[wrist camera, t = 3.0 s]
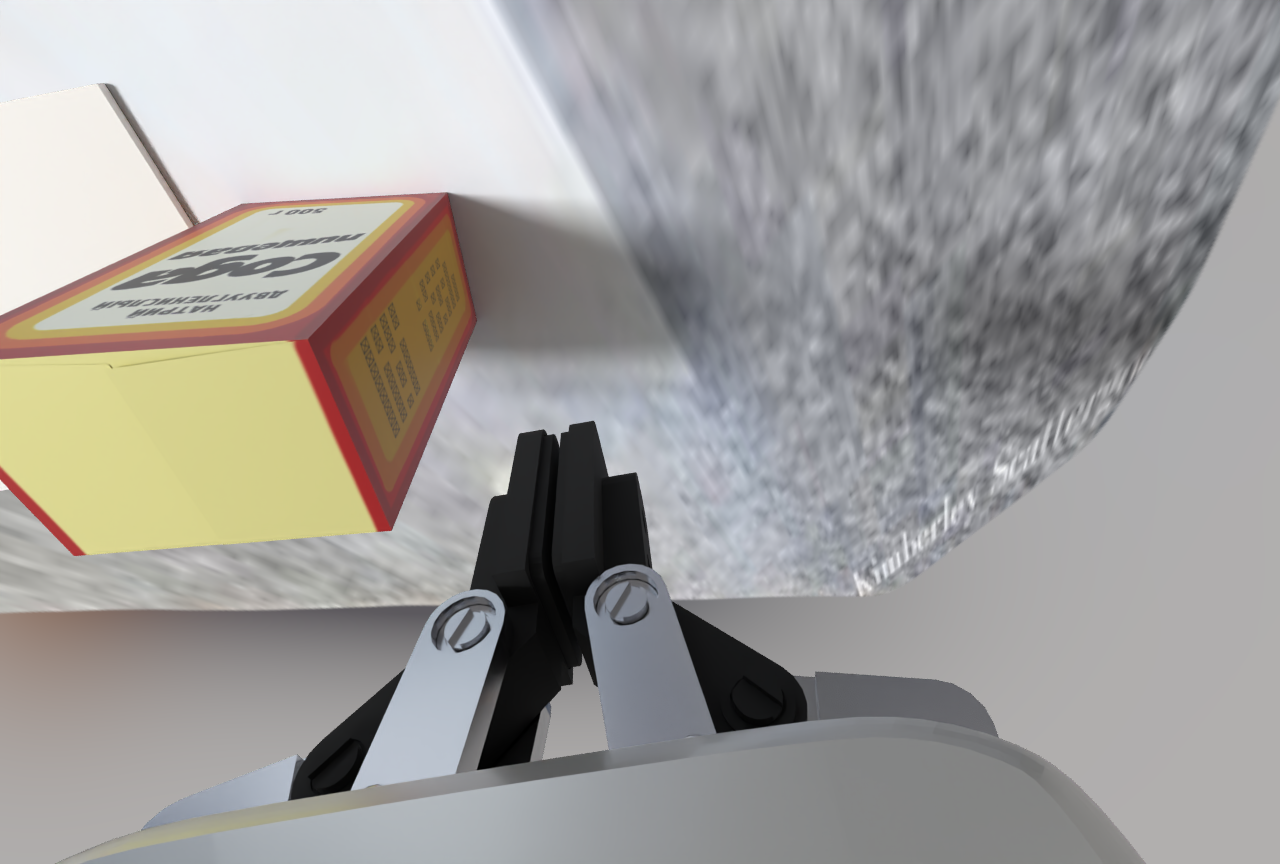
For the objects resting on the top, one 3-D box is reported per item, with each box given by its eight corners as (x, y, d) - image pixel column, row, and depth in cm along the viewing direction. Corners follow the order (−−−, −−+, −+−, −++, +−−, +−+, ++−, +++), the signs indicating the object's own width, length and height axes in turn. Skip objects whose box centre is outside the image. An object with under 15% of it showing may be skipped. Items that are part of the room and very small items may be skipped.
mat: (103, 83, 22) (96, 83, 22) (323, 431, 33) (320, 435, 32) (-395, 180, 23) (-409, 182, 22) (-22, 491, 33) (-28, 495, 33)
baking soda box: (299, 332, 29) (64, 565, 16) (242, 203, 25) (-128, 374, 12) (476, 320, 29) (387, 539, 16) (447, 192, 25) (301, 346, 13)
